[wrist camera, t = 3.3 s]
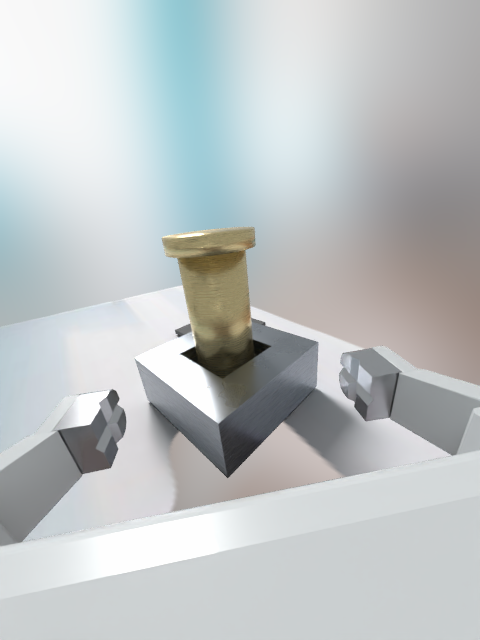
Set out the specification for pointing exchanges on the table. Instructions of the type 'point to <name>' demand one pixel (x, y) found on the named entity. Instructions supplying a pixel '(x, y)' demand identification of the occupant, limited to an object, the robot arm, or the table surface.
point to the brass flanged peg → (216, 294)
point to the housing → (230, 392)
